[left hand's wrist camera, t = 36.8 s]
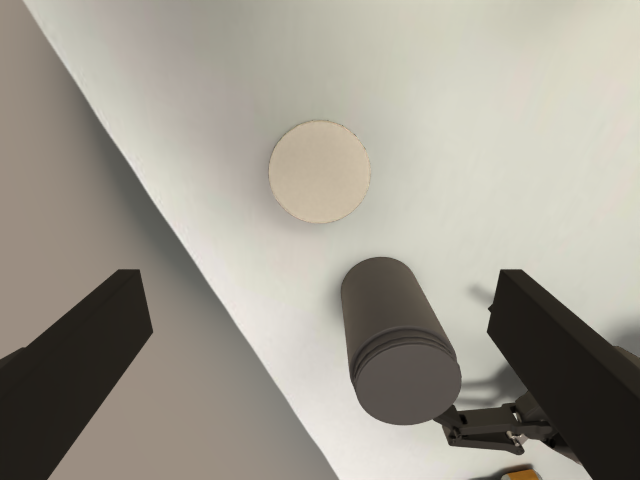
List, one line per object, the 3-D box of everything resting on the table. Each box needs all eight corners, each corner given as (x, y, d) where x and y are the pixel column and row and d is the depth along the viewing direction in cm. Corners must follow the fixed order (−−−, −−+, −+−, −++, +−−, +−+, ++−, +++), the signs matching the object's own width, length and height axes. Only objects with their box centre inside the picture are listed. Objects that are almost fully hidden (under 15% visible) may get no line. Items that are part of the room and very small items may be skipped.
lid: (253, 188, 38) (250, 193, 36) (301, 98, 35) (299, 98, 33) (335, 233, 40) (336, 240, 38) (387, 153, 37) (391, 156, 35)
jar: (427, 265, 42) (484, 353, 27) (403, 329, 45) (441, 436, 31) (352, 249, 41) (369, 330, 27) (332, 315, 44) (339, 418, 30)
